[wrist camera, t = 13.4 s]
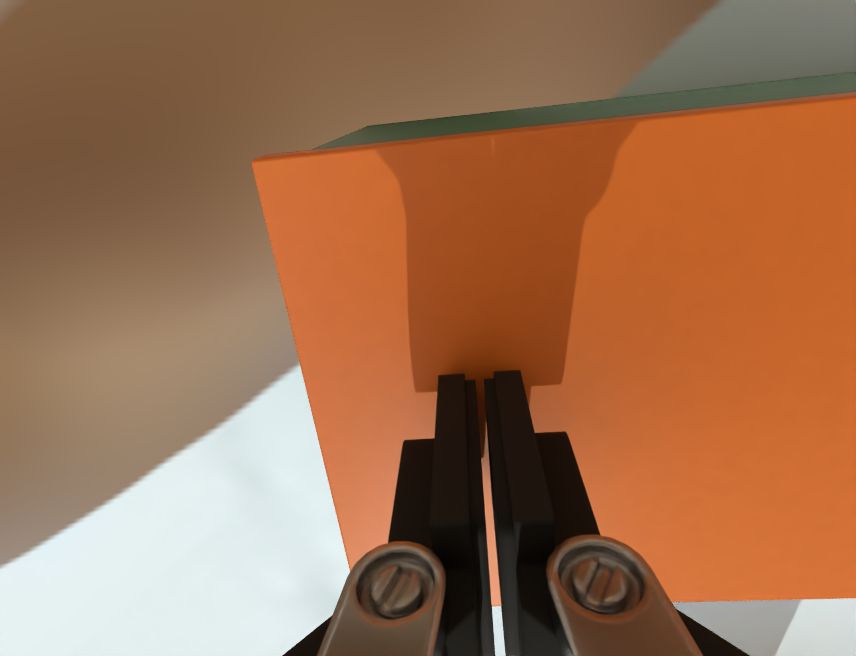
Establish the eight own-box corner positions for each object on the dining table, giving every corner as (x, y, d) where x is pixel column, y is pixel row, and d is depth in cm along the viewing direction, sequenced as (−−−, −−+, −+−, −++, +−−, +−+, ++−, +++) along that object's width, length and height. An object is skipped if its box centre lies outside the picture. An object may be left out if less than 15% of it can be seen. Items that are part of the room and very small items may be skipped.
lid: (363, 583, 14) (358, 610, 14) (265, 154, 9) (249, 159, 9) (999, 566, 13) (1032, 595, 12) (1276, 46, 8) (1360, 41, 7)
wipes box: (410, 433, 20) (391, 583, 14) (365, 126, 15) (307, 149, 9) (821, 410, 19) (997, 565, 13) (914, 65, 14) (1272, 46, 8)
